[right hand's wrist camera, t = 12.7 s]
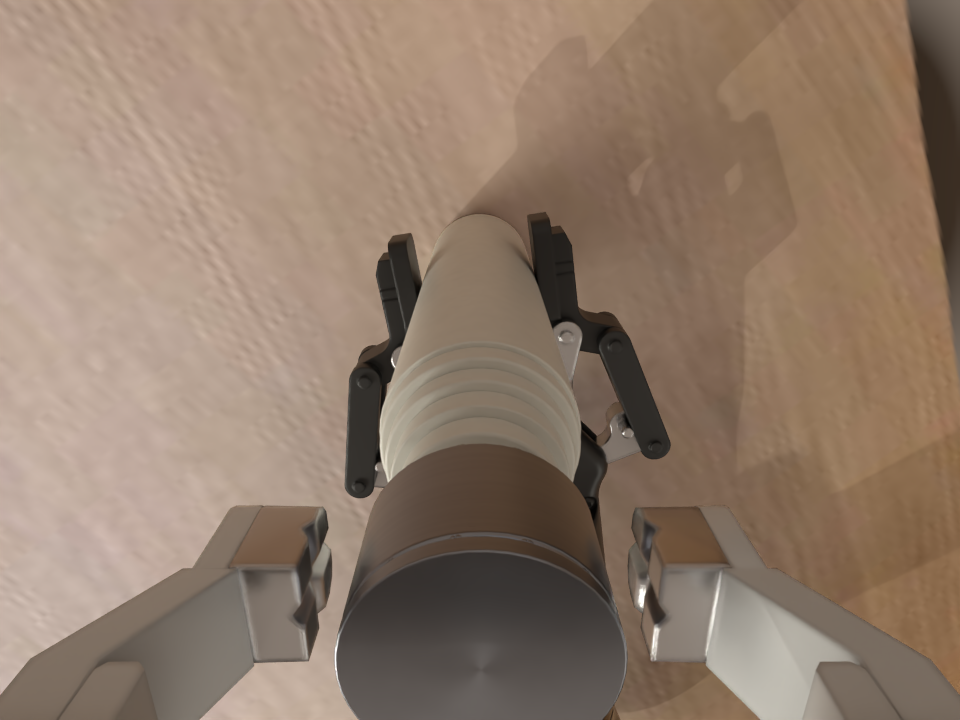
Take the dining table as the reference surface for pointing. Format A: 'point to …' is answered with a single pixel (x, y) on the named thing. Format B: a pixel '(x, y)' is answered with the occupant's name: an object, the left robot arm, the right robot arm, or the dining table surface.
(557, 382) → the bottle
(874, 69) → the dining table surface
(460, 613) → the cap
